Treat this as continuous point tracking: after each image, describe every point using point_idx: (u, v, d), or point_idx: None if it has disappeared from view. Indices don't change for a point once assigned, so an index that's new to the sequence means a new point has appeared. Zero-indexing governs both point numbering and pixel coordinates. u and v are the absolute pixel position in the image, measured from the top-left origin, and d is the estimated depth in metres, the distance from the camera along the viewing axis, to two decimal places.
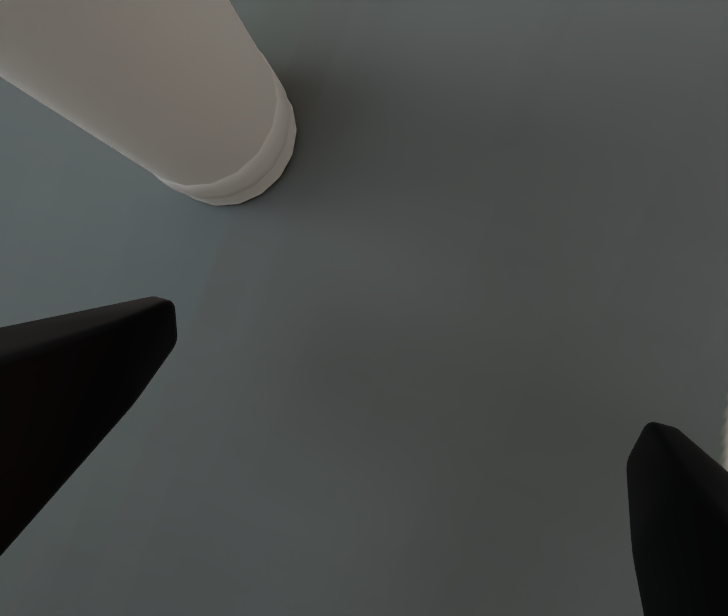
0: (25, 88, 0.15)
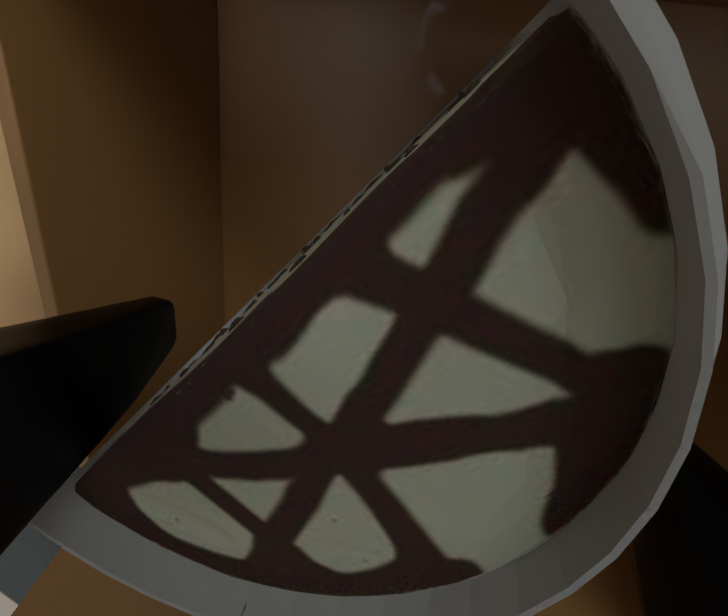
0: None
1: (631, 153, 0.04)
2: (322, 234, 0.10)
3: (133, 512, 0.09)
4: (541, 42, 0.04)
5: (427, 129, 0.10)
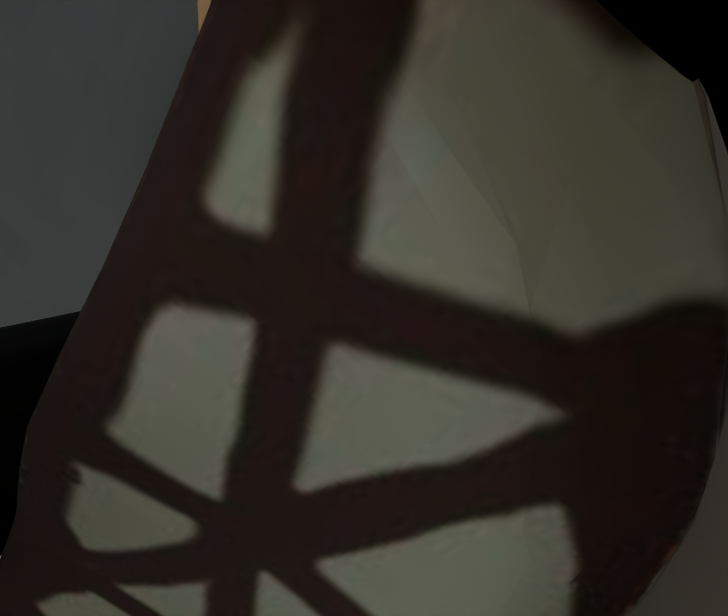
0: None
1: None
2: None
3: None
4: None
5: None
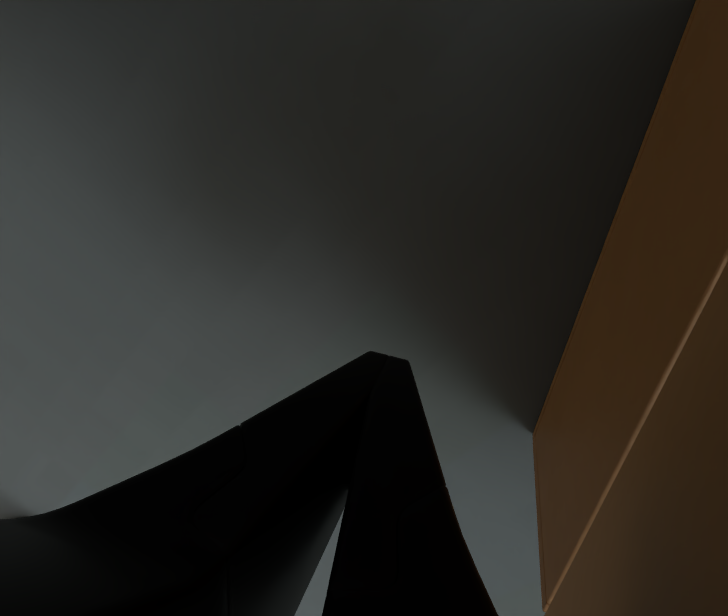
0: None
1: None
2: None
3: None
4: None
5: None
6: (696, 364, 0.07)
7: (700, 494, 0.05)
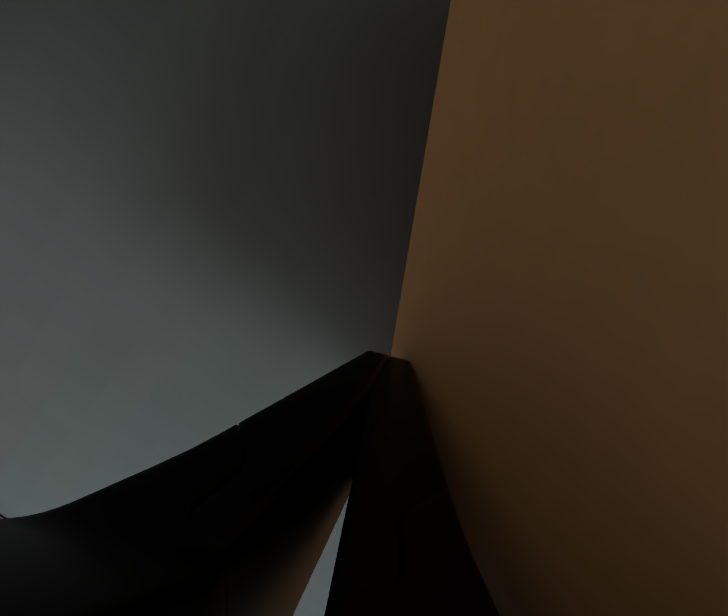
0: None
1: None
2: None
3: None
4: None
5: None
6: (426, 309, 0.08)
7: (491, 438, 0.06)
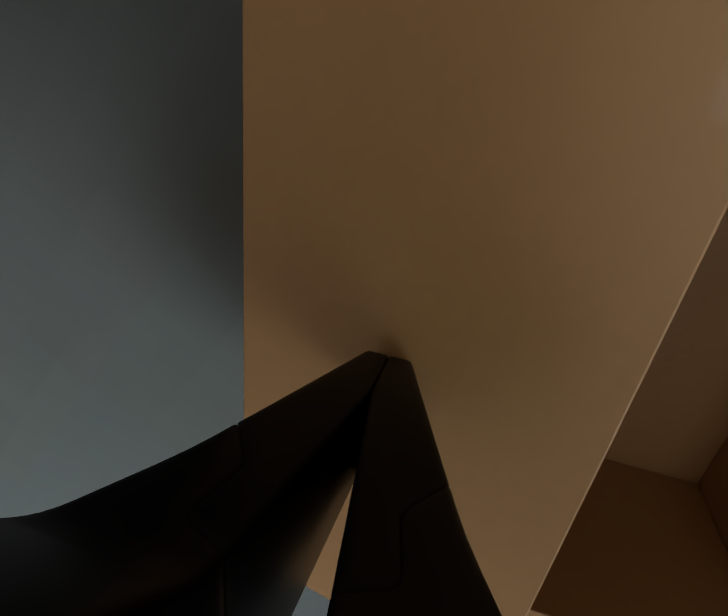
0: None
1: None
2: None
3: None
4: None
5: None
6: (300, 261, 0.09)
7: (429, 318, 0.08)
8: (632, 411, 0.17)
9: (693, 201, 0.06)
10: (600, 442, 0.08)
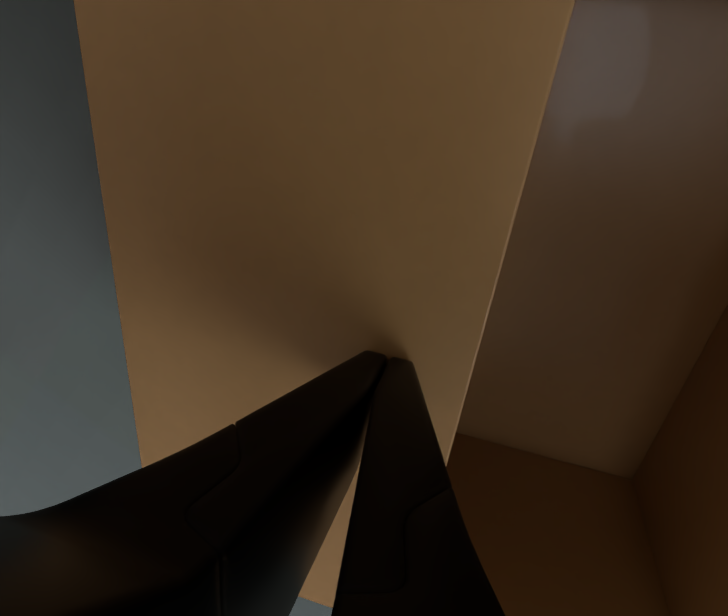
0: None
1: None
2: None
3: None
4: None
5: None
6: (168, 243, 0.09)
7: (299, 286, 0.09)
8: (563, 406, 0.17)
9: (503, 160, 0.07)
10: (460, 382, 0.09)
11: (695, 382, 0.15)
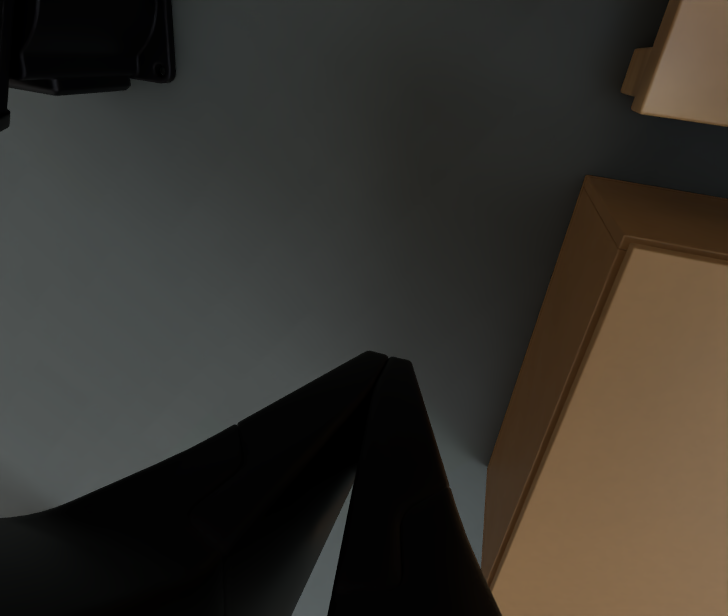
0: None
1: None
2: None
3: None
4: None
5: None
6: (601, 452, 0.14)
7: (692, 483, 0.14)
8: None
9: None
10: None
11: None
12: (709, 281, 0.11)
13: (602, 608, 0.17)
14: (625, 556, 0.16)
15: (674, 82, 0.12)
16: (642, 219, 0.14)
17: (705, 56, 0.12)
